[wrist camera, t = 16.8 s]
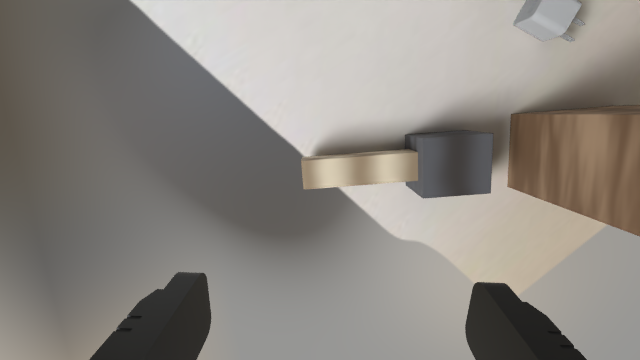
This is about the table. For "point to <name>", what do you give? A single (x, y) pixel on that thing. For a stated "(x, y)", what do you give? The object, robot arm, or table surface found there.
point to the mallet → (412, 165)
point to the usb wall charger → (548, 18)
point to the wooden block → (580, 161)
